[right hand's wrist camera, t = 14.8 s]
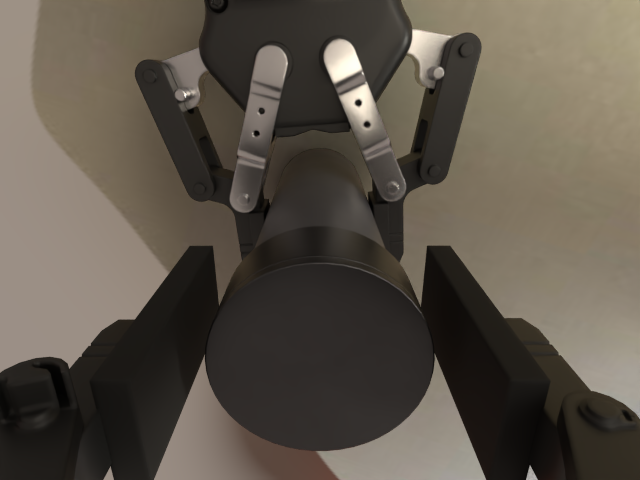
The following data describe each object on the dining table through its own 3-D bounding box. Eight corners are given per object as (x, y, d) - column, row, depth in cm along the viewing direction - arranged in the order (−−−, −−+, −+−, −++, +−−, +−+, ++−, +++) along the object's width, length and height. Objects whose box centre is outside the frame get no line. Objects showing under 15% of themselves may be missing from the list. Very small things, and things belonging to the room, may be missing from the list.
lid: (448, 336, 13) (474, 391, 11) (296, 415, 14) (291, 480, 12) (349, 186, 11) (356, 215, 9) (185, 291, 12) (156, 340, 10)
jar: (292, 234, 27) (258, 434, 12) (269, 159, 25) (196, 287, 10) (367, 216, 26) (428, 401, 12) (350, 138, 25) (394, 240, 10)
